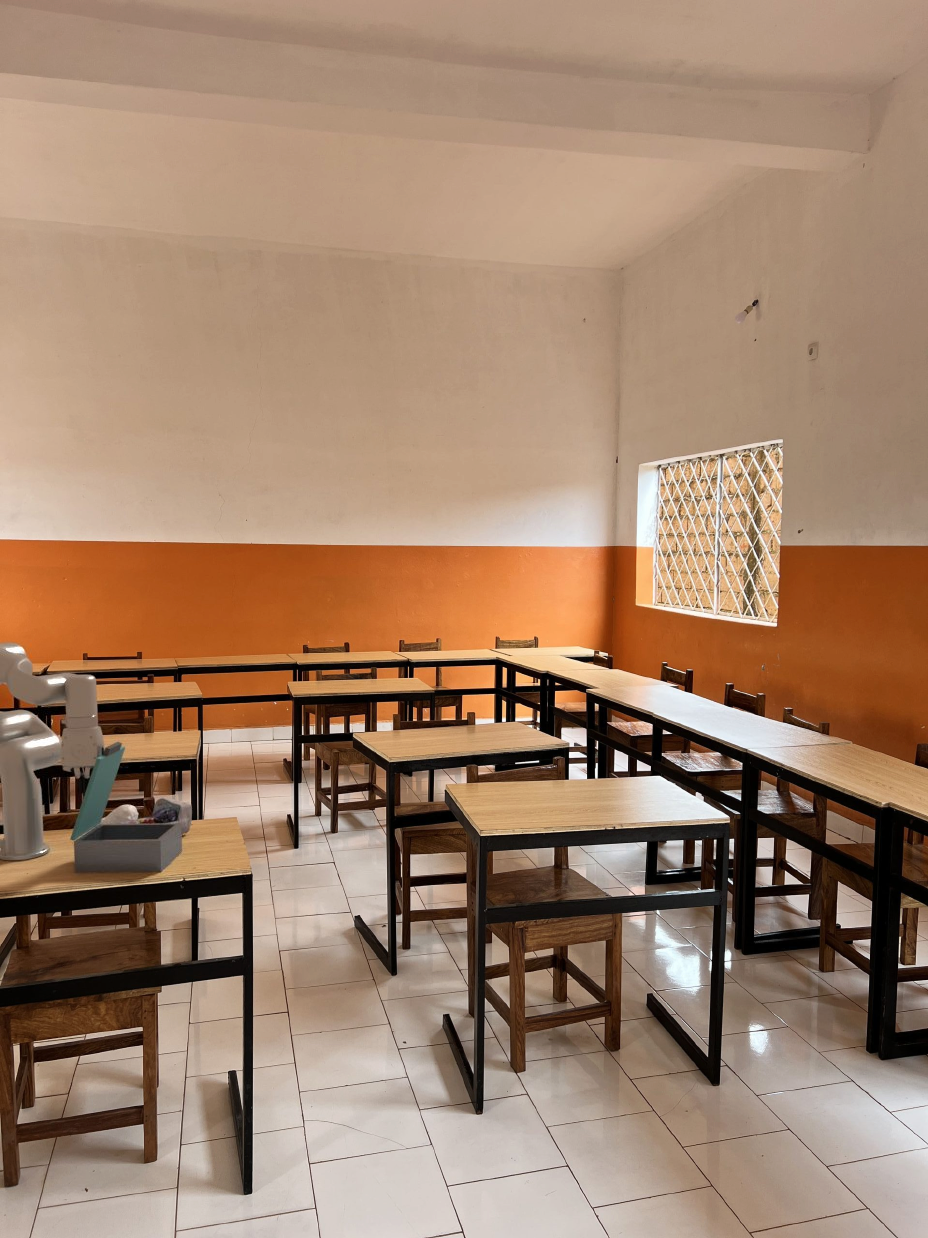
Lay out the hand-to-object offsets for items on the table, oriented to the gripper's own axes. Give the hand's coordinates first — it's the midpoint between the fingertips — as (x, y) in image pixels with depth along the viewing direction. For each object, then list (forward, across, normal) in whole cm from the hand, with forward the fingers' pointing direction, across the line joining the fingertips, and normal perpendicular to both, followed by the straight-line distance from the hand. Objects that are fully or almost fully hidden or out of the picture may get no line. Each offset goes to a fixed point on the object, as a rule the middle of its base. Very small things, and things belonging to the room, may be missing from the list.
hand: (85, 792), depth 236 cm
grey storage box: (+19, +11, 0) cm, 22 cm away
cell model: (+19, +11, +20) cm, 29 cm away
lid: (-1, +4, 0) cm, 4 cm away
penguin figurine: (+19, -3, +26) cm, 33 cm away
